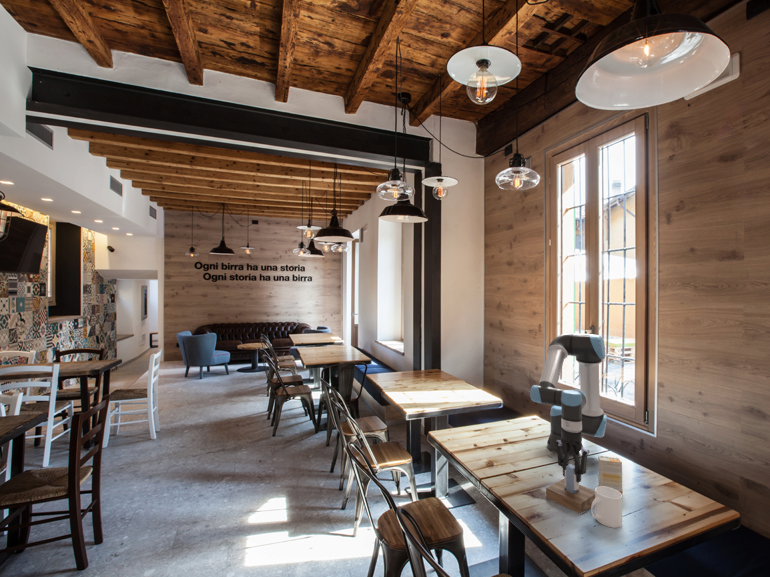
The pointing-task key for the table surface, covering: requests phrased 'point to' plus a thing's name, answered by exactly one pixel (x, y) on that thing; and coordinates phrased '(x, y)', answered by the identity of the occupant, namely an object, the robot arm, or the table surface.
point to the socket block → (571, 496)
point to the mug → (607, 506)
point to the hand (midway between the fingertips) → (571, 487)
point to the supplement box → (610, 472)
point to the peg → (570, 478)
